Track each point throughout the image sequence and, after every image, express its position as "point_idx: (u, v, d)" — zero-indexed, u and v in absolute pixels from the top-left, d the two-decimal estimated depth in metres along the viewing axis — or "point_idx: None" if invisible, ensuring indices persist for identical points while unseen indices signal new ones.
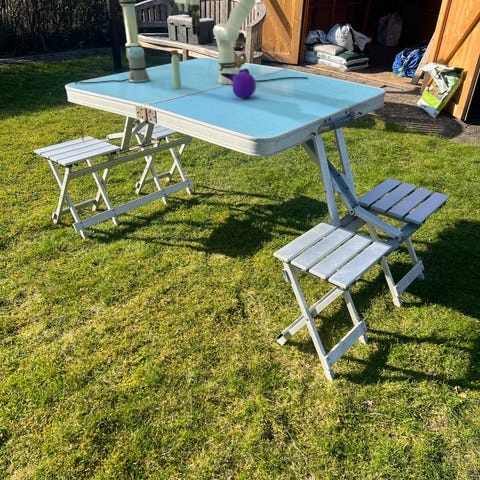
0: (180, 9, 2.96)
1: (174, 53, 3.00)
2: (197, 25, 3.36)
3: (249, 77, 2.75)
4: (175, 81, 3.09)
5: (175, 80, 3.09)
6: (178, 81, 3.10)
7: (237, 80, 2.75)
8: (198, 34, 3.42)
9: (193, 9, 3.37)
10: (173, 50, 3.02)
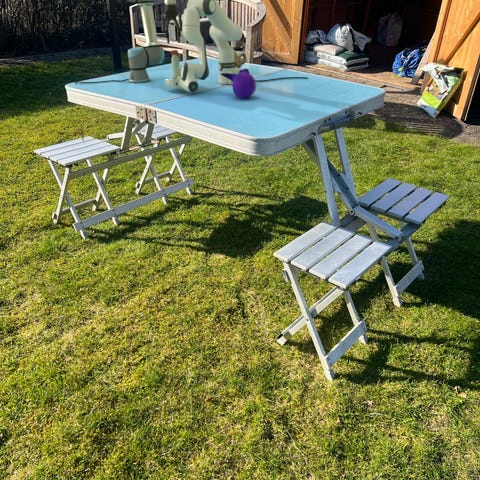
0: None
1: (174, 53, 3.00)
2: None
3: (249, 77, 2.75)
4: None
5: None
6: None
7: (237, 80, 2.75)
8: None
9: (176, 9, 2.89)
10: (173, 50, 3.02)
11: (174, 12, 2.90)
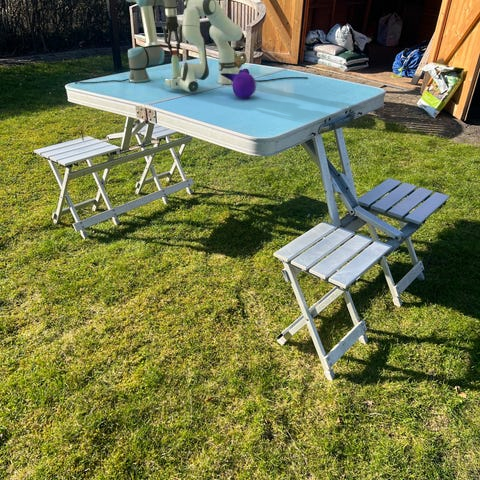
0: None
1: (174, 53, 3.00)
2: None
3: (249, 77, 2.75)
4: None
5: None
6: None
7: (237, 80, 2.75)
8: None
9: (177, 21, 2.92)
10: (173, 50, 3.02)
11: (175, 23, 2.93)
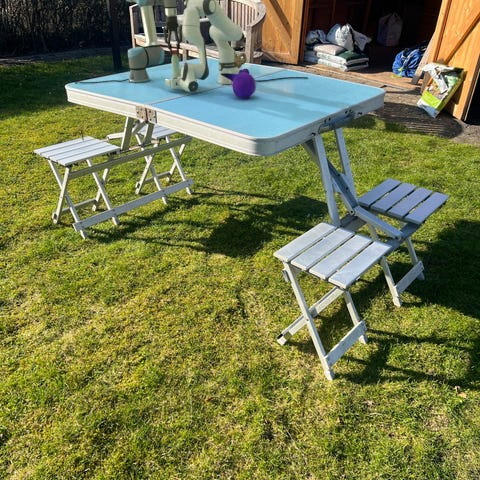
0: None
1: (177, 52, 3.02)
2: None
3: (249, 77, 2.75)
4: None
5: None
6: None
7: (237, 80, 2.75)
8: None
9: (177, 21, 2.92)
10: (173, 50, 3.01)
11: (175, 23, 2.93)
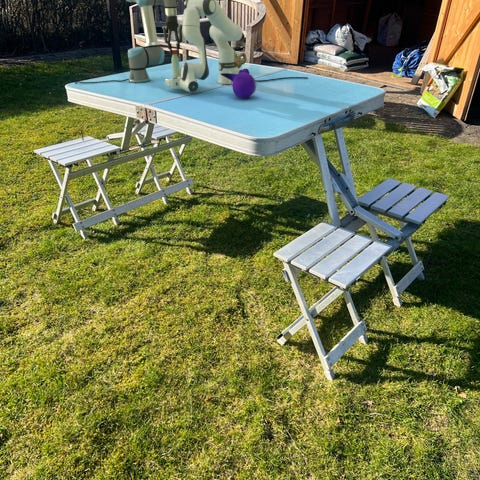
0: None
1: None
2: None
3: (249, 77, 2.75)
4: None
5: None
6: None
7: (237, 80, 2.75)
8: None
9: (177, 21, 2.92)
10: (175, 50, 3.01)
11: (175, 23, 2.93)
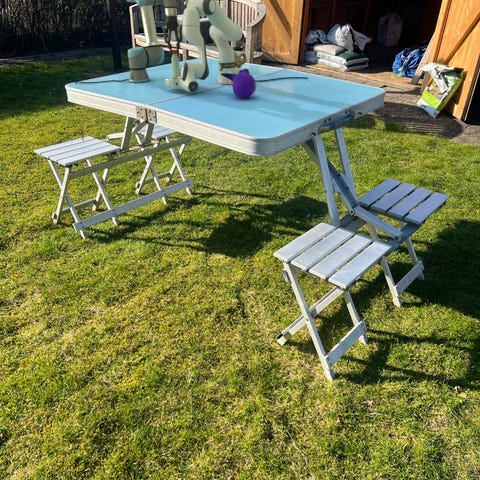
0: None
1: None
2: None
3: (249, 77, 2.75)
4: None
5: None
6: None
7: (237, 80, 2.75)
8: None
9: (177, 20, 2.92)
10: None
11: (175, 23, 2.93)
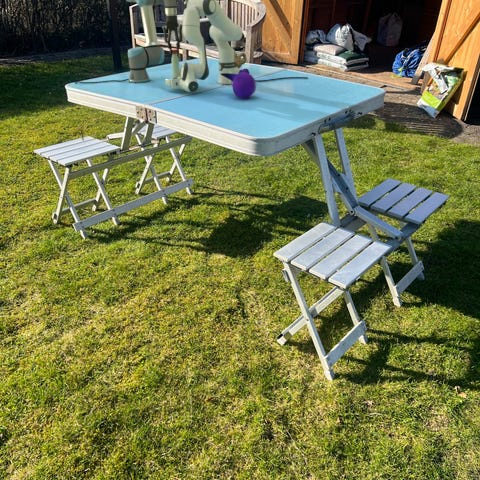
0: None
1: (174, 52, 3.00)
2: None
3: (249, 77, 2.75)
4: None
5: None
6: None
7: (237, 80, 2.75)
8: None
9: (177, 20, 2.92)
10: (173, 49, 3.01)
11: (175, 23, 2.93)
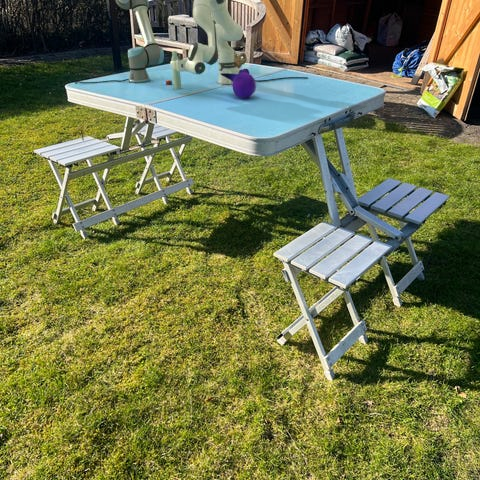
0: None
1: None
2: None
3: (249, 77, 2.75)
4: (175, 81, 3.09)
5: (175, 80, 3.09)
6: (178, 81, 3.10)
7: (237, 80, 2.75)
8: None
9: None
10: (169, 80, 3.26)
11: None
